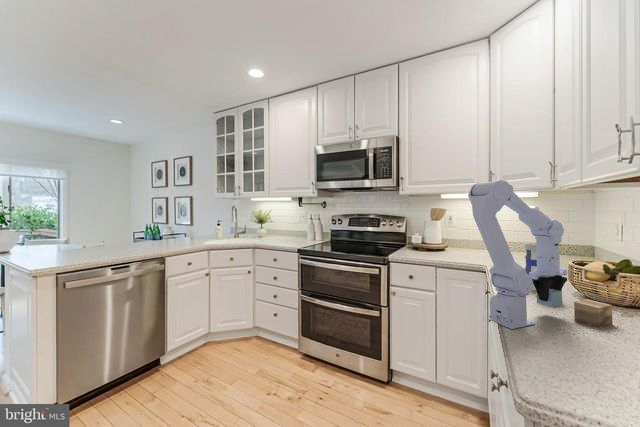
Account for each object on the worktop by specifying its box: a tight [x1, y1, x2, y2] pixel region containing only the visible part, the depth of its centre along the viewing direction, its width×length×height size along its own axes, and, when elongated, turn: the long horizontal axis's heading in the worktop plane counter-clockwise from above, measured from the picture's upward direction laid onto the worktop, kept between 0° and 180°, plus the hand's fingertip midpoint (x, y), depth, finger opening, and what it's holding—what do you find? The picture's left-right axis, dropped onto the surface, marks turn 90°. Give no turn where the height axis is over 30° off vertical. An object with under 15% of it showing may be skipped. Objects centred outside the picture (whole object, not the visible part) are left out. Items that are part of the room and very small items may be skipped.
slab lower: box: [573, 311, 614, 329], centre depth 84 cm, size 6×6×3 cm
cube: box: [535, 289, 563, 308], centre depth 89 cm, size 4×4×4 cm
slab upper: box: [573, 298, 613, 318], centre depth 83 cm, size 6×6×3 cm
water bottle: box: [522, 236, 537, 291], centre depth 120 cm, size 8×9×25 cm
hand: (548, 299), depth 89 cm, fingers closed on cube, 4 cm apart
